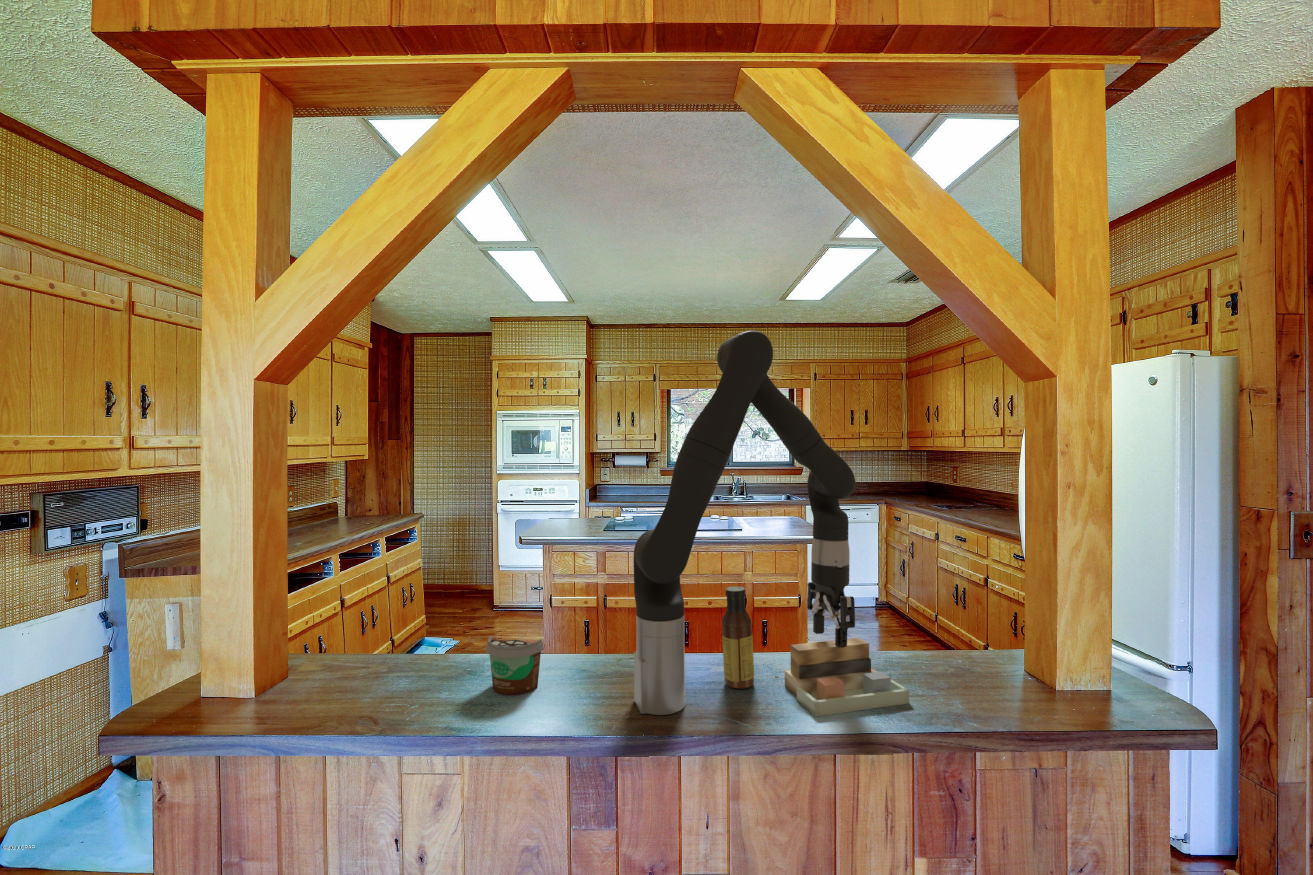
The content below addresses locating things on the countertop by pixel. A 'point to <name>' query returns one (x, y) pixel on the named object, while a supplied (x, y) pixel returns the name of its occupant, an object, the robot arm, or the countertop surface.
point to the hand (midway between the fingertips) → (829, 639)
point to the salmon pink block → (829, 688)
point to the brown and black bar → (829, 658)
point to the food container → (514, 665)
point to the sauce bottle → (737, 641)
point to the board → (810, 685)
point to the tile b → (876, 682)
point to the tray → (853, 700)
